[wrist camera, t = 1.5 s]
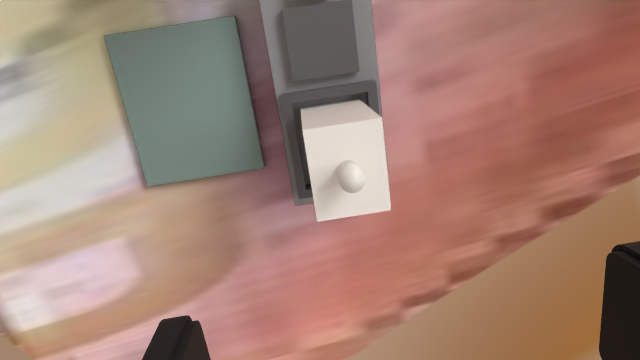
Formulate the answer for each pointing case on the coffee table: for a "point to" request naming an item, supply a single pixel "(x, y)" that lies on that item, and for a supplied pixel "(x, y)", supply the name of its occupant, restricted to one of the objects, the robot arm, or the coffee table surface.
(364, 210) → the block
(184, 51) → the mat
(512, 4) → the coffee table surface
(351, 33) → the power strip
